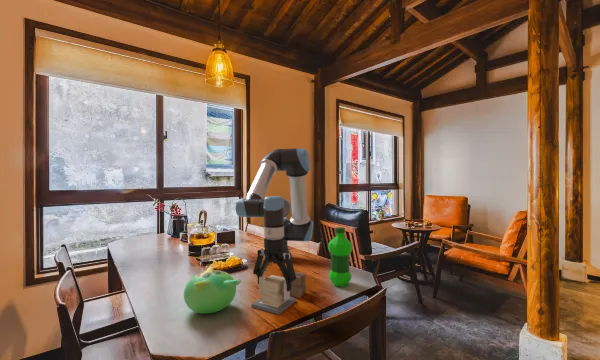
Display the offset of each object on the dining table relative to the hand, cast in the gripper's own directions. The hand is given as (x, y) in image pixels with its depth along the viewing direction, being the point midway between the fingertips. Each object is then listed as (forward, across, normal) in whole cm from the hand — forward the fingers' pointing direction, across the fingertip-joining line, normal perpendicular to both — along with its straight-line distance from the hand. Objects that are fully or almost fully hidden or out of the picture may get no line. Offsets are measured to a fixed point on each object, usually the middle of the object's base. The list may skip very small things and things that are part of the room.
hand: (274, 296), depth 108 cm
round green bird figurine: (+3, -17, -15) cm, 23 cm away
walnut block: (+3, +3, +12) cm, 13 cm away
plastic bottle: (+3, +15, +30) cm, 34 cm away
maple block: (+2, 0, 0) cm, 2 cm away
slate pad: (+3, 0, 0) cm, 3 cm away
